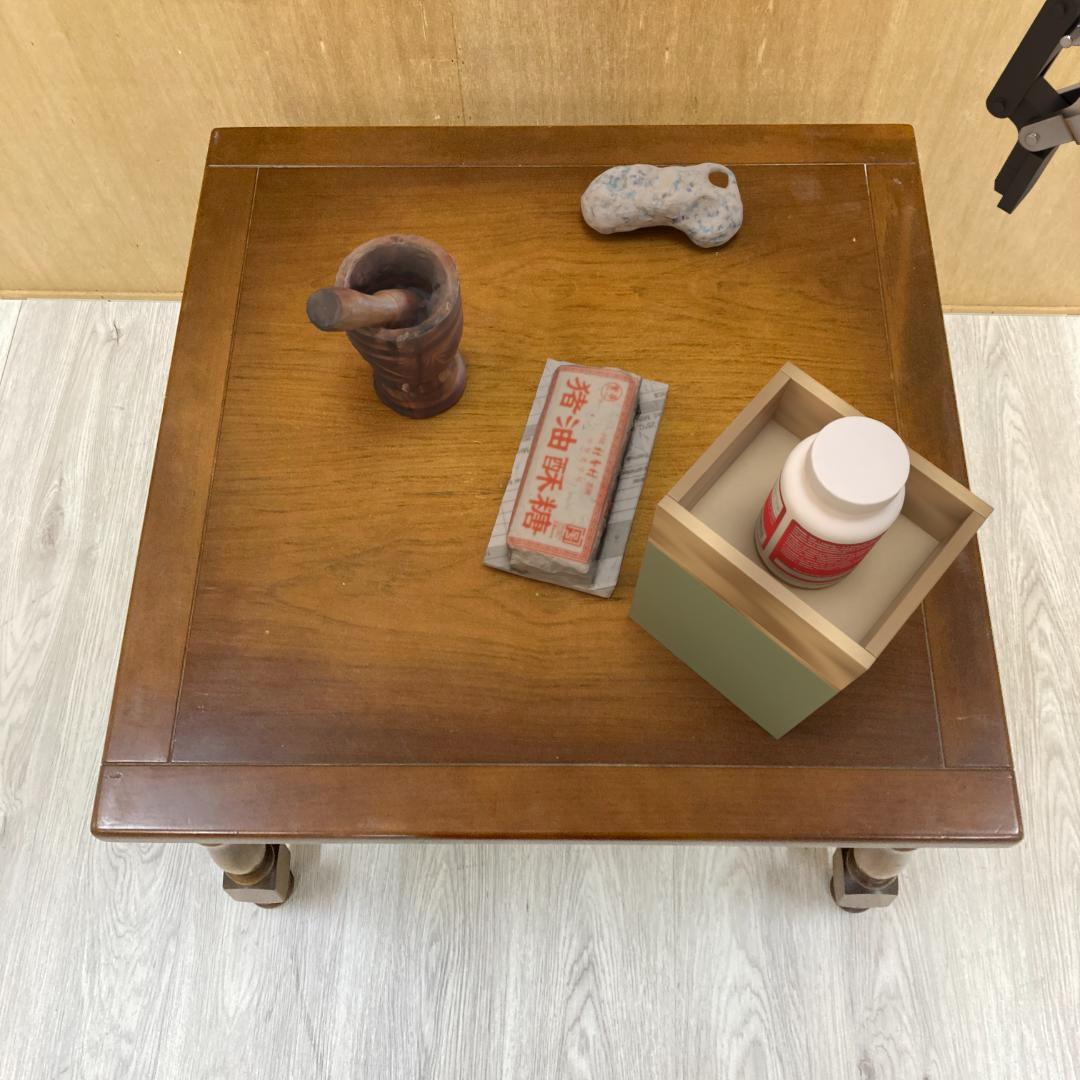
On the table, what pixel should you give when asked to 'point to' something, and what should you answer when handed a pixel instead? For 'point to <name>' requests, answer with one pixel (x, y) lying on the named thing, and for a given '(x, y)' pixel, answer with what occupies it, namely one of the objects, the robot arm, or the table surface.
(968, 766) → the table surface
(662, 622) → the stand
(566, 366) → the packaged product
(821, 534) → the pill bottle
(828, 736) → the table surface
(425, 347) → the mortar and pestle
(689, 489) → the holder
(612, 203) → the decorative stone
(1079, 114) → the robot arm
